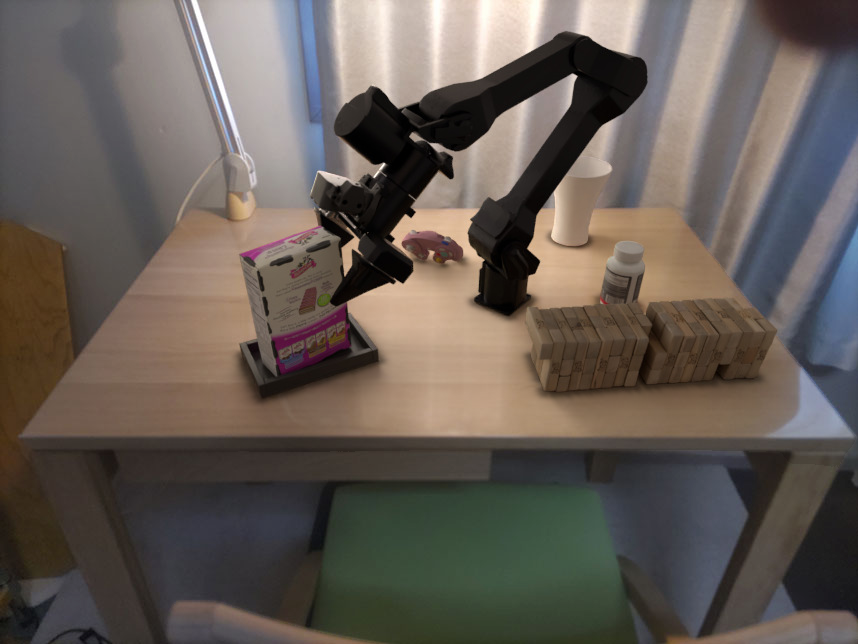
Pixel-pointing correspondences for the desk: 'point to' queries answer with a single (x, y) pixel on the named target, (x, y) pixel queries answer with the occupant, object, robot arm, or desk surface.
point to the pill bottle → (623, 274)
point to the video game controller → (432, 246)
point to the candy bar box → (297, 299)
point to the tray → (338, 363)
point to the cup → (578, 199)
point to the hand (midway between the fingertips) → (319, 286)
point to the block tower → (647, 343)
